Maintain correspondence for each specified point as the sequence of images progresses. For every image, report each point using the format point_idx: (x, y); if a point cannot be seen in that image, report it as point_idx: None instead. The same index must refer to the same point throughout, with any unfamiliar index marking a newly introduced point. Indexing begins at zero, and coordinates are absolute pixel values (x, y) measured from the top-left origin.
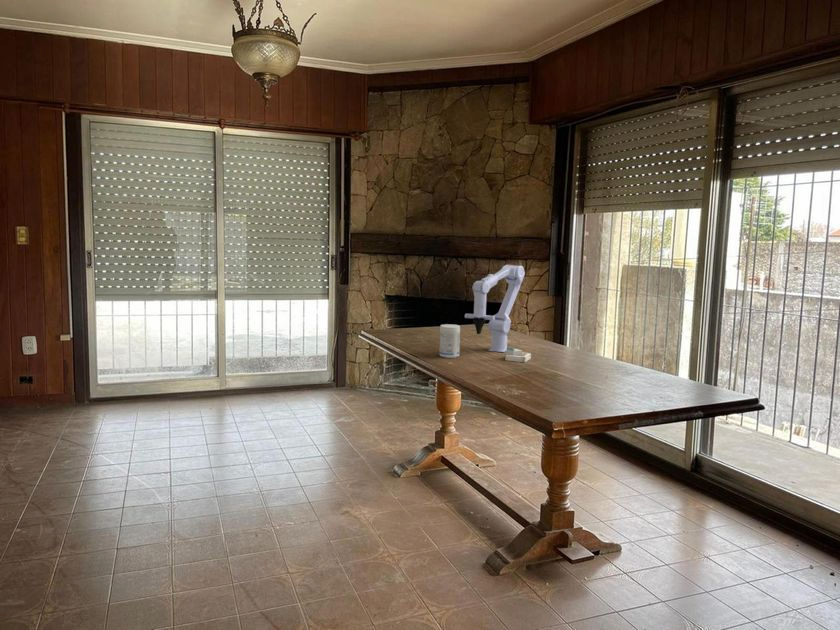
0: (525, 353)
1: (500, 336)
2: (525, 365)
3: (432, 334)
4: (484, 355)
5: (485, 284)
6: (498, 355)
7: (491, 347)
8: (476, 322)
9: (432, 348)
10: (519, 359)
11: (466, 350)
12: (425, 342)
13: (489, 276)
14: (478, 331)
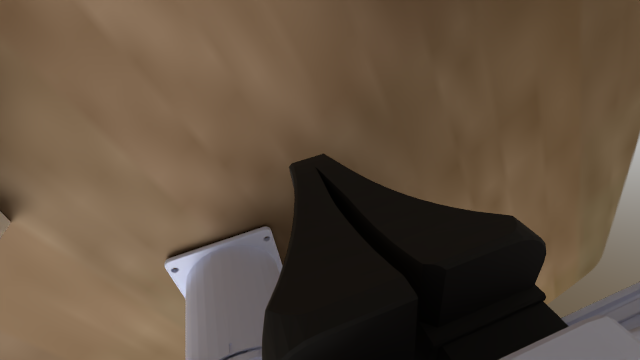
0: None
1: (201, 352)
2: None
3: (577, 276)
4: (185, 79)
5: None
6: (108, 166)
7: (264, 258)
8: (418, 236)
9: (577, 26)
10: None
11: (382, 137)
12: (607, 146)
13: None
14: (311, 171)
